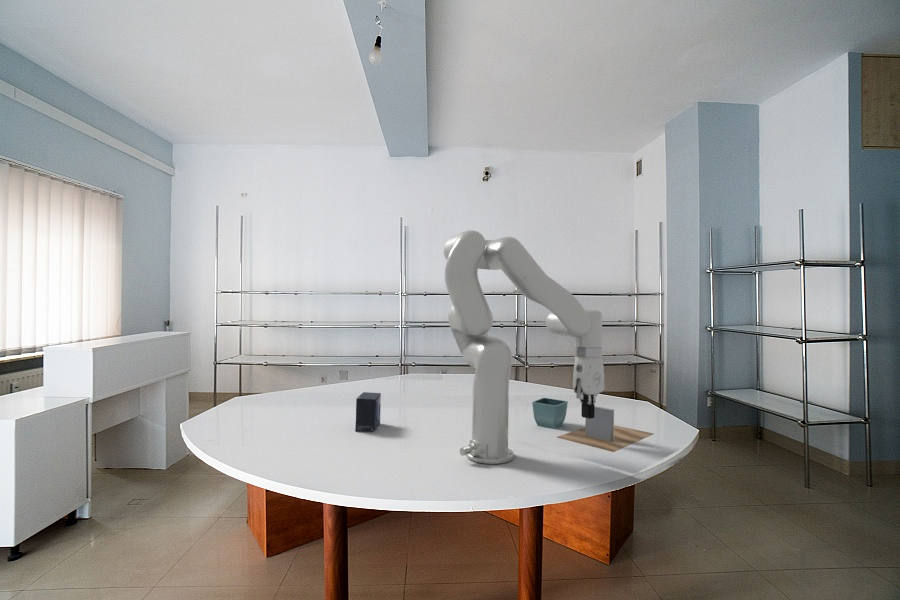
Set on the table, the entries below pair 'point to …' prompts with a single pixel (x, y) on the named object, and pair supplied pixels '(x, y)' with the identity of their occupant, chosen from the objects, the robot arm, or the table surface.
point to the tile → (601, 424)
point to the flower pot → (549, 412)
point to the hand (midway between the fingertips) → (587, 417)
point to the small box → (368, 411)
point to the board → (621, 440)
